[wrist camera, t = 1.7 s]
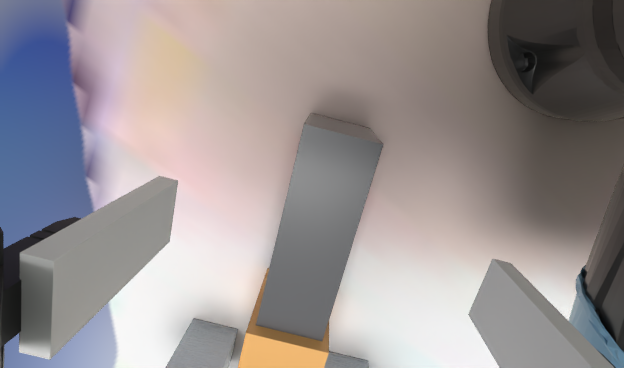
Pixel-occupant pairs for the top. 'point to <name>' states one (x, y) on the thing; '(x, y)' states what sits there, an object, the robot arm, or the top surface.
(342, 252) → the grey and orange block
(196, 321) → the housing
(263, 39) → the top surface
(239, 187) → the top surface
